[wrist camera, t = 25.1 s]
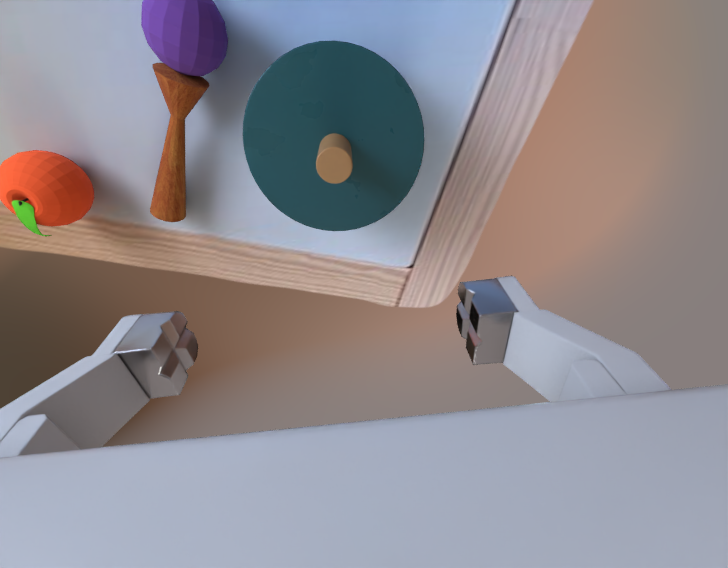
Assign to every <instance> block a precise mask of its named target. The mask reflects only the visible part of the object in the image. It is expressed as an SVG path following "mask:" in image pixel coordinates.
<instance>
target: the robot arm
mask: <svg viewBox="0 0 728 568" xmlns="http://www.w3.org/2000/svg"><path fill="white" fill-rule="evenodd" d="M458 295H459V297H460V300H461V302H460V303H459V304H458V305H457V313H456V315H457V324H458V328H459V331H460V334H461V336H462V337H463V338H465V339H466V340H467V342H466V349H467V351H468V354H469V356H470V359H471V361H472V363H473V365H478V364H490V363H503V364H504V365H505V366H507V367H508V368H509V369H510V370H512V371H513V372H514V373H515V374H516V375H518V376H519V377H520V378H521V379H523V380H524V381H525V382H526V383H528V384H529V385H530V386H532V387H533V388H534V389H535V390H536V391H538V392H539V393H540V394H542V395H543V396H544V397H545V398H546V399H548V400H549V401H550V402H547V403H537V404H527V405H517V406H507V407H497V408H487V409H479V410H468V411H458V412H448V413H438V414H429V415H418V416H408V417H398V418H388V419H378V420H368V421H358V422H348V423H339V424H328V425H319V426H308V427H299V428H289V429H279V430H269V431H259V432H249V433H239V434H229V435H220V436H210V437H200V438H191V439H181V440H170V441H160V442H150V443H140V444H131V445H121V446H111V447H102V446H103V445H104V444H105V443H106V442H107V441H108V440H109V439H110V438H111V437H112V436H113V435H114V434H115V433H116V432H117V431H118V430H119V429H120V428H122V427H123V425H125V424H126V423H127V422H128V421H129V420H130V419H131V418H132V417H133V416H134V415H135V414H136V413H137V412H138V411H139V410H140V409H141V408H142V407H143V406H144V405H145V404H146V403H147V402H148V401H149V400H150V398H158V397H166V396H173V395H180V393H181V391H182V389H183V386H184V384H185V382H186V380H187V378H188V374H187V372H186V370H187V369H188V368H189V367H191V366H192V365H193V364H194V362H195V360H196V358H197V352H198V344H197V340H196V337H195V335H194V333H192V332H191V331H189V330H188V329H186V328H185V327H186V324H187V320H186V318H185V316H184V315H183V313H181V312H178V311H174V312H162V313H149V314H139V315H129V316H126V317H123V318H122V319H121V320H120V321H119V323H118V324H117V325H116V327H115V328H114V329H113V330H112V331H111V333H110V334H109V335H108V336H107V338H106V339H105V340H104V341H103V343H102V344H101V345H100V346H99V348H98V349H97V350H96V352H95V353H94V354H93V355H92V356H88V357H85V358H83V359H82V360H80V361H78V362H77V363H75V364H73V365H72V366H70V367H69V368H67V369H65V370H64V371H62V372H60V373H59V374H57V375H55V376H54V377H52V378H51V379H49V380H47V381H46V382H44V383H42V384H41V385H39V386H37V387H36V388H34V389H33V390H31V391H29V392H27V393H26V394H24V395H23V396H21V397H19V398H18V399H16V400H14V401H13V402H11V403H9V404H8V405H6V406H5V407H3V408H1V409H0V568H728V384H725V385H715V386H705V387H696V388H686V389H676V390H672V389H670V387H669V386H668V385H667V384H666V383H665V382H664V381H663V380H662V379H661V378H660V377H659V376H658V375H657V374H656V373H655V372H654V370H653V369H652V368H651V367H650V366H649V365H648V364H647V363H646V362H645V361H644V360H643V359H642V358H641V357H640V356H639V355H638V354H637V353H636V352H634V351H632V350H630V349H628V348H626V347H623V346H621V345H619V344H617V343H615V342H613V341H611V340H609V339H606V338H604V337H602V336H600V335H598V334H596V333H594V332H592V331H590V330H587V329H585V328H583V327H581V326H579V325H577V324H575V323H573V322H571V321H568V320H566V319H564V318H562V317H560V316H558V315H556V314H553V313H551V312H549V311H547V310H539V308H538V307H537V306H536V304H535V303H534V302H533V300H532V299H531V298H530V297H529V295H528V294H527V292H526V291H525V290H524V288H523V287H522V286H521V284H520V283H519V282H518V280H517V279H516V278H515V277H513V276H505V277H499V278H494V279H486V280H476V281H467V282H460V284H459V288H458Z"/></svg>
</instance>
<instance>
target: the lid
mask: <svg viewBox="0 0 728 568" xmlns="http://www.w3.org/2000/svg"><path fill="white" fill-rule="evenodd" d="M243 143H244V150H245V155H246V160H247V162H248V165H249V168H250V171H251V173H252V175H253V177H254V179H255V181H256V183H257V185H258V186H259V188H260V189H261V191H262V192H263V194H264V195H265V196H266V197H267V198H268V200H269V201H270V202H271V203H272V204H273V205H274V206H275V207H276V208H277V209H279V210H280V211H281V212H283V213H284V214H285V215H287V216H288V217H290V218H292V219H293V220H295V221H297V222H299V223H302V224H304V225H306V226H309V227H313V228H316V229H321V230H328V231H347V230H353V229H357V228H361V227H364V226H367V225H369V224H372V223H374V222H376V221H378V220H380V219H381V218H383V217H385V216H386V215H387V214H389V213H390V212H391V211H392V210H394V209H395V208H396V207H397V206H398V205H399V204H400V203H401V201H402V200H403V199H404V198H405V196H406V195H407V194H408V192H409V191H410V189H411V187H412V186H413V184H414V182H415V180H416V177H417V175H418V172H419V169H420V166H421V163H422V158H423V152H424V127H423V121H422V116H421V112H420V109H419V106H418V103H417V101H416V99H415V96H414V94H413V92H412V90H411V89H410V87H409V85H408V84H407V82H406V81H405V79H404V78H403V77H402V76H401V75H400V73H399V72H398V71H397V70H396V69H395V68H394V67H393V66H392V65H391V64H390V63H389V62H387V61H386V60H385V59H383V58H382V57H380V56H379V55H377V54H376V53H374V52H372V51H370V50H368V49H366V48H364V47H362V46H358V45H355V44H352V43H348V42H340V41H319V42H314V43H309V44H305V45H303V46H300V47H297V48H294V49H293V50H291V51H289V52H287V53H286V54H284V55H282V56H281V57H280V58H278V59H277V60H276V61H275V62H273V63H272V64H271V65H270V66H269V67H268V68H267V70H266V71H265V72H264V73H263V74H262V75H261V77H260V78H259V80H258V81H257V83H256V84H255V86H254V88H253V90H252V92H251V95H250V97H249V100H248V103H247V106H246V109H245V115H244V121H243Z"/></svg>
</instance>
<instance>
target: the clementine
mask: <svg viewBox="0 0 728 568" xmlns="http://www.w3.org/2000/svg"><path fill="white" fill-rule="evenodd" d="M0 200H1V201H2V202H3V204H4V205H5V206H6V207H7V208H8V209H9V210H10V211H11V212H12V213H14V214H15V215H17V216H18V218H19V220H20V221H21V222H22V223H23V224H24V225H25V226H26V227H27V228H28V229H29V230H31V231H32V232H34V233H36V234H39V235H42V236H52V235H43V234H41V232H40V231H39V229H38V228H37V224H40V225H44V226H61V225H68V224H70V223H73V222H75V221H77V220H79V219H81V218H82V217H83V216H84V215H85V214H86V213H87V212H88V211H89V210H90V209H91V206H92V204H93V200H94V189H93V186H92V183H91V181H90V179H89V178H88V176H87V174H86V173H85V172H84V171H83V170H82V169H81V168H80V167H79V166H78V165H77V164H75V163H74V162H73V161H71V160H69V159H68V158H66V157H64V156H62V155H59V154H56V153H52V152H47V151H39V150H33V151H27V152H20V153H17V154H15V155H13V156H11V157H10V158H8V159H6V160H5V161H3V163H2V164H1V166H0Z"/></svg>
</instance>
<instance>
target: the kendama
mask: <svg viewBox="0 0 728 568" xmlns="http://www.w3.org/2000/svg"><path fill="white" fill-rule="evenodd" d="M141 25H142V28H143V31H144V34H145V37H146V40H147V43H148V45H149V46H150V47H151V49H152V50H153V51H154V53H155V54H156V55H157V57H158V58H159V59H160V60H161V61H162V62H163V63H155V64H153V69H154V72H155V75H156V77H157V80H158V82H159V85H160V88H161V90H162V93H163V96H164V98H165V101H166V103H167V106H168V109H169V111H170V114H171V117H170V121H169V126H168V130H167V135H166V140H165V144H164V149H163V153H162V158H161V162H160V167H159V171H158V176H157V180H156V185H155V189H154V194H153V198H152V203H151V207H150V212H151V214H152V215H153V216H154V217H156V218H158V219H160V220H163V221H168V222H178V221H181V220H183V219H184V218H185V217H186V188H185V118H186V117H187V115H188V114H189V113H190V111H191V110H192V109H193V107H194V106H195V105H196V103H197V102H198V101H199V99H200V98H201V97H202V95H203V94H204V93H205V91H206V90H207V88H208V87H209V83H208V82H207V81H206V80H205V79H204V78H203V77H201V76H204V75H206V74H208V73H210V72H212V71H213V70H215V69H217V68H218V67H219V65H220V64H221V63H222V61H223V60H224V58H225V57H226V51H227V45H228V37H227V32H226V27H225V22H224V20H223V18H222V16H221V15H220V13H219V11H218V9H217V7H216V5H215V4H214V2H213V1H212V0H144V1H143V2H142V24H141Z"/></svg>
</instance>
